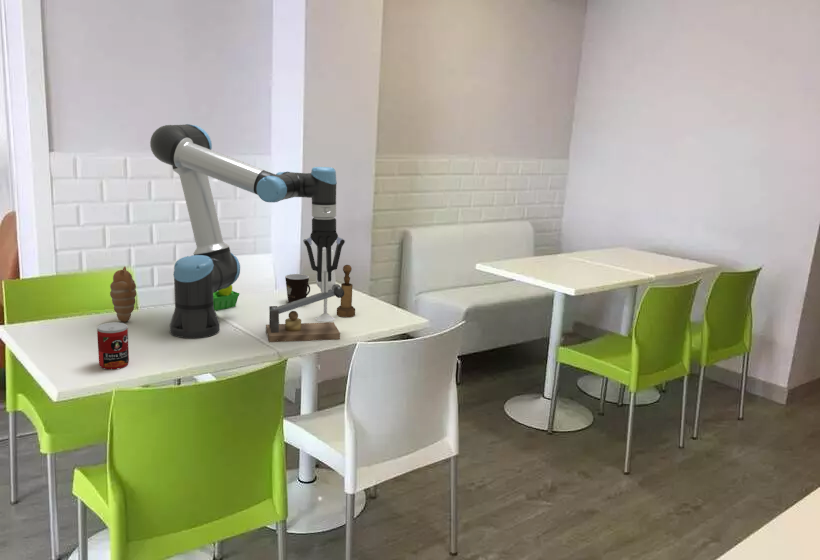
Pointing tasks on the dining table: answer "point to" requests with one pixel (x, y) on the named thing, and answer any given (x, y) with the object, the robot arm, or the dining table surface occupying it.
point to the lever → (311, 299)
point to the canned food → (113, 345)
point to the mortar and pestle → (346, 296)
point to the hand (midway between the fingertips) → (324, 291)
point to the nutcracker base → (305, 333)
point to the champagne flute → (325, 316)
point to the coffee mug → (297, 286)
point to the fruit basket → (225, 298)
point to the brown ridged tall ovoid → (123, 294)
